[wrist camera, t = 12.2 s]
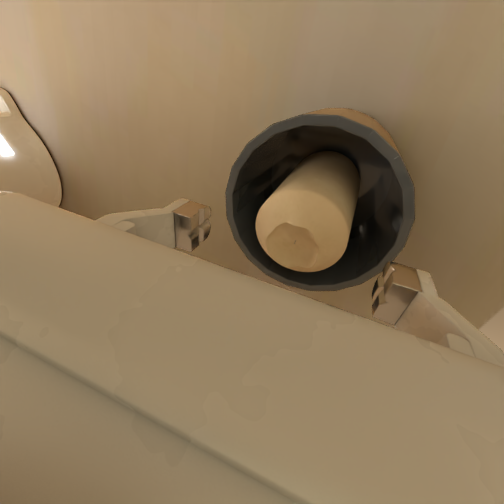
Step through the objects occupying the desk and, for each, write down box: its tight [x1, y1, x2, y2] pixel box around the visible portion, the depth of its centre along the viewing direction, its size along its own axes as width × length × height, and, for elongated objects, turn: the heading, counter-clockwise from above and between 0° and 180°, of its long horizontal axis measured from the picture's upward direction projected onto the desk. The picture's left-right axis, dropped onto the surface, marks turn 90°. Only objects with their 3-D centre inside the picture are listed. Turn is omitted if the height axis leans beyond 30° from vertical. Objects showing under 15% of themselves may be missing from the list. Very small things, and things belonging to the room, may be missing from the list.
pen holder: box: [226, 108, 415, 291], centre depth 18 cm, size 11×11×9 cm
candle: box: [256, 151, 360, 272], centre depth 17 cm, size 6×6×10 cm
